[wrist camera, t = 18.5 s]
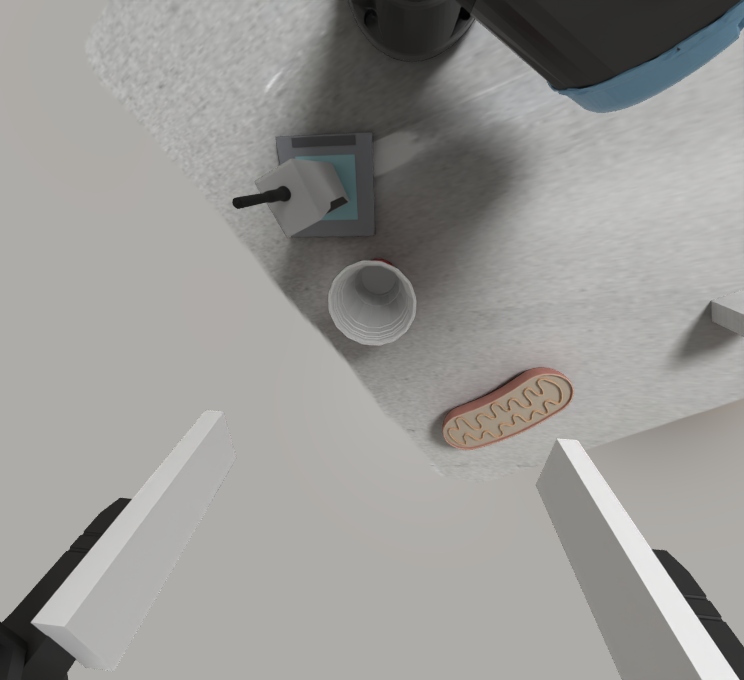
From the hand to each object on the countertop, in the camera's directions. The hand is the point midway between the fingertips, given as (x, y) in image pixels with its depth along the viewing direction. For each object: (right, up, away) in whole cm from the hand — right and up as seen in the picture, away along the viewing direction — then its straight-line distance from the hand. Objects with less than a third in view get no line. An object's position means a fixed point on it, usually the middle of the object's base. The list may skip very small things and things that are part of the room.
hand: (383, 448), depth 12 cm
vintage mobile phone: (-6, +24, +28) cm, 37 cm away
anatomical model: (+23, -6, +44) cm, 50 cm away
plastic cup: (0, +14, +34) cm, 37 cm away
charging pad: (-6, +25, +29) cm, 38 cm away
